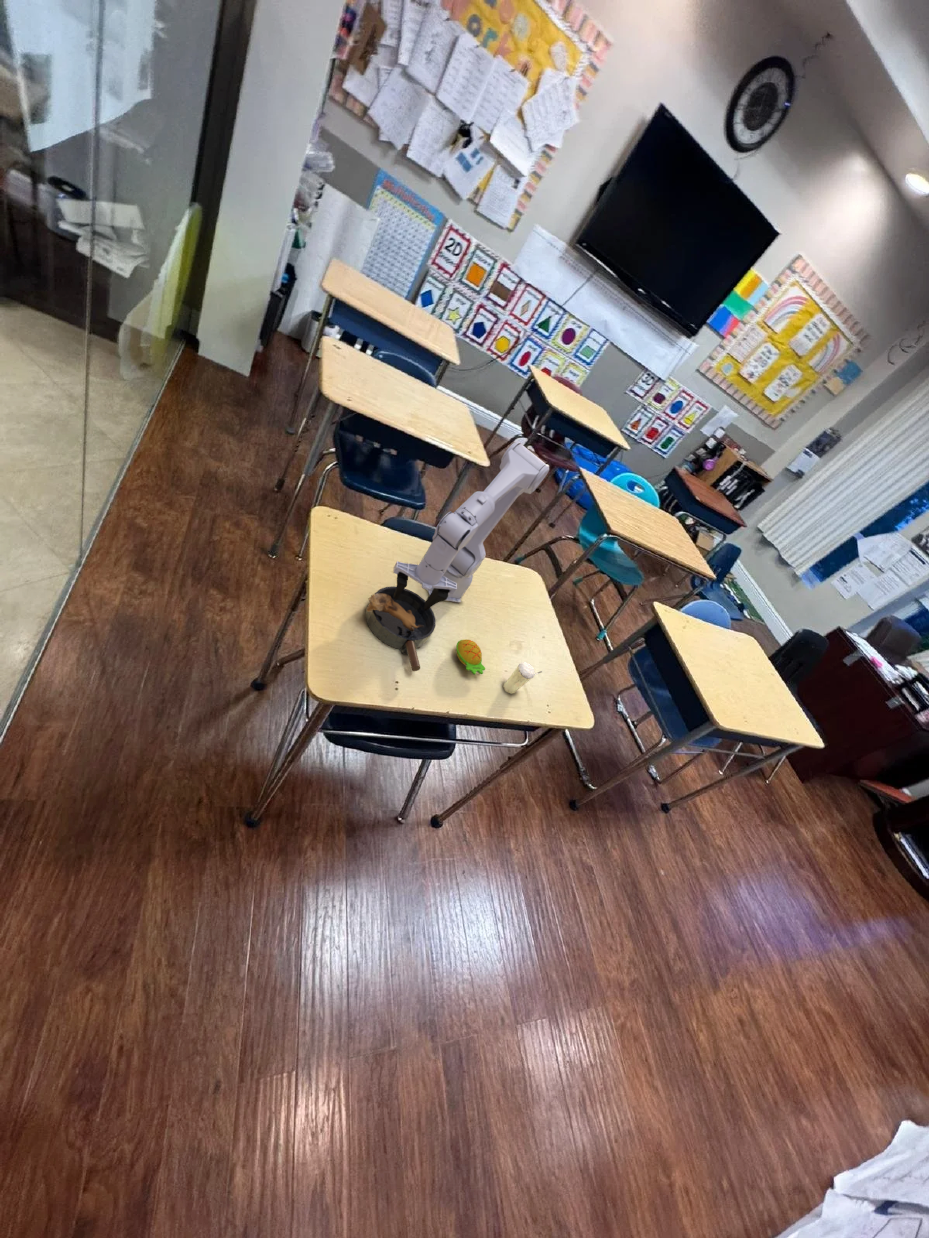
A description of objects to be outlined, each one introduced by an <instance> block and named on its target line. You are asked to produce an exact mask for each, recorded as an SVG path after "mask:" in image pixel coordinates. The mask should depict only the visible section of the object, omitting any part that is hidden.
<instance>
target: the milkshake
mask: <svg viewBox="0 0 929 1238" xmlns="http://www.w3.org/2000/svg"><path fill="white" fill-rule="evenodd" d="M541 673H543V670H540V671H537V672H535V668H534V666H533V665H531V664H530V663H529V662H526V661H521V662H520V663H518V664H517V666H516V668H515V669H514V670H513V672H512V673H511V675H510V676H509V677H508V678H507V680H506V681H505V682H504V684H503V690H504V691H505V692H506V693H508V694H509V695H511V694H512V695H513V694H515V693H516V692H517V691H518V690H520V689H521V688H522V687H523V686H524V685H525V684H526V683H528V682H530V680H532V679H533V678H534V677H535V676H536V675H539V674H541Z"/></svg>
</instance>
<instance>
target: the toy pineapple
mask: <svg viewBox="0 0 929 1238" xmlns="http://www.w3.org/2000/svg"><path fill="white" fill-rule="evenodd" d="M455 649H456V650H455V651H456V652H455V653H456V657H457V659H458V660H459V661H460V662H461V664H463V665H464V666H465V670H466V671H468V672H471V674H472V675H476V674H477V673H478V674H479V675H483V674H484V671H485V670H486V666H484V665H483V663H482V662H483V654H482V649H481V647H480V646H479V645H478V643H476V642H475V641H474V640H472V639H467V638H465V639H460V640H458V641H457V643H456V646H455Z"/></svg>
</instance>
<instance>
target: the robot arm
mask: <svg viewBox="0 0 929 1238" xmlns="http://www.w3.org/2000/svg"><path fill="white" fill-rule="evenodd" d="M500 462H501V463H500V465H499V470H500V471H499V472H498V474H497V475H496V476H495V477H494V478H493V479H492V481H491V482H490V483H489V484H488V485H487V486H486V487H485V489H484V490H483V491H482V490H481V491H480V490H479V491H474V492H473V493H472V494H471V495H470V496H469V497H468V498H467V499H466V500H465V501H464V502H463V503H461V505H460V506H459V507H458V508H457V509H456V510H455V511H454V512H452V511H449V512H447V513H446V514H445V515H444V516H443V517H442V518H441V519H440V521H439V522H438V523H437V526H436V527H435V529H434V534H433V536H432V541H431V543H430V545H429V547H428V548H427V550H426V552H425V554H424V555H423V557H422V558H421V560H420V562H419V563H418V564H417V563H416V564H415V563H408V562H407V563H406V562H402V561H398V560H397V561H396V563H394V566H393V571H392V573H393V574H394V575H396V586H395V587H396V590H395V593H394V600H397V599H398V598H399V596H400V594H401V592H402V591H403V590H404V588H405V589H406V588H407V586H408V580H409V578H410V579H412V580H414V581H415V582H417V583H418V584H420V585H421V588H422V589H424V590H426V591H427V593H428V597H427V598H426V600H425V601H426V602H425V604H424V610H426V611H427V610H428V609H429V608H431V609H432V607H434V606H435V605H437V604H438V603H441V602H444V601H445V602H452V603H458V604H459V603H461V602H462V597H463V596H464V595H465V593H466V592H467V591H468V590H469V588H470V587H471V585H472V583H473V579H474V574H475V573H476V572H477V571H478V569H479V568H480V567H481V565H482V563H483V562H484V560H485V558H486V555H487V554H486V548H485V545H484V542H485V541H486V539H487V538H488V537H489V535H490V534H491V533H492V531H493V530H494V529H495V527H497V525H498V524H499V522H500V521H501V519H503V517H504V516H505V514H506V513H507V512H508V511H509V509H510V508H511V506H512V505H513V504H514V502H515V501H516V500H517V499H518V497H520V496H521V495H522V494H523V493H525V494H528V495H531V494H533V493H534V492H535V491H536V489H537V488H538V487H539V486H540V484H541V483H542V481H544V479H545V478H546V476H547V474H548V473H549V472H550V465H549V464H546V463H545V462H544V461H543V460H542V459H540V458H539V457H538V456H537V455H536V454H535V453H533V452H532V451H530V450H529V449H528V448H527V447H526V446H525V445H524V444H522V443H521V442H520V440H517V441H515V442H513V443H512V444H510V446H509V447H508V448H507V449H506V450H505V452H504V453H503V455H502V456H501V460H500Z"/></svg>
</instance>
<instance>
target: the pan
mask: <svg viewBox="0 0 929 1238" xmlns="http://www.w3.org/2000/svg"><path fill="white" fill-rule="evenodd" d="M396 587H397V586H396V585H395V586H384V587H382V588H380V589H378V590H377V591H376V592H374V594H377V593H378V594H379V593H382V594H387V595H389V596H391V597H392V599H393V600H394V593H395V590H396ZM394 602H396V603H398V604H399V605H400V606H401V607H402V608H403V609H404V610H405V611H406V612H407V611H408V610H411V612H412V615H413V616H414V617H415V625H416V626H418V625H424V627H419V628H414V627H413V628H414V631H410V630H409V629H407V628H405V626H404V625H403V622H402V621H401V620H399V619H397V618H395V617H393V616H392V615H390V614H389V613H386V612H382V611H379V610H373V611H371V612H368V611H367V609H365V620H366V624H367V626H368V627H369V630H370V631H371V632H372V634H373V635H374V637H376V638H377V639H378V640H379V641H380V642H382V643H384V644H385V645H387V646H389V647H390V648H391V647H392V648H393V649H397V650H401V649H402V648H403V646H404V645H405V643H406V642H407V641H414V644H415V648H416V650H417V649H419V648H422V647H423V646H424V645H425V644H426V642H427V641H428V640H429V638H431V636H432V635H433V633H434V631H435V629H436V624H437V623H436V621H437V619H436V616H435V613H434V611H433V609H432V607H431V608H429V609H428V610H427V611H426V610H424V604H425V602H426V600H425V599H424V598H422V596H420V595H419V594H417V593H416V592H414V591H412V590H411V589H408V588H406V587H405V588H404V590H403V591H402V592H401V594H400V596H399V598H398V599H397V600H394ZM367 606H369V604H368V605H367Z"/></svg>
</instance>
